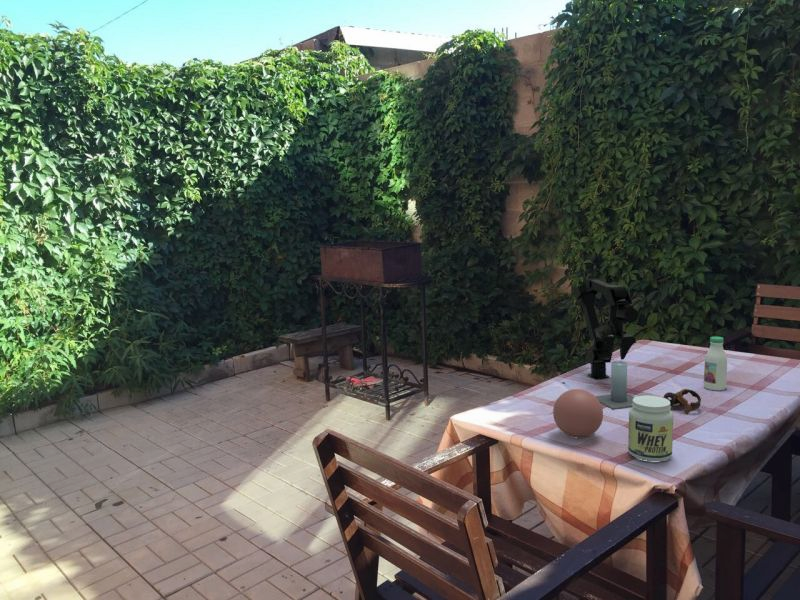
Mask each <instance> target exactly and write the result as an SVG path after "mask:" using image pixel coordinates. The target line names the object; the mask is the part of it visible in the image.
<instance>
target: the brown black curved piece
mask: <svg viewBox="0 0 800 600" xmlns="http://www.w3.org/2000/svg"><path fill="white" fill-rule="evenodd" d="M687 394H690V395H691V396H692V397H694V398H696V400H697V401H695V402H693V401H691V402H690V404H689V401H688V400H687V399H686V398H685V397H684V396H685V395H687ZM663 398H665V399H667V400H669V401H670V406H671V408H673V407H674V406H675V405H682V406H685V409H684V410H683V413H685V414H686V415H688V414H689V413H691V412H695V411H696V410H698V409H699V408H700V406H701V402H702V399H701V396H700V395H699V393H697V392H696V391H694V390H693V389H689V388H682V389H681V390H680V391H677V392H676V393H674V392H671V391H670V392H666V393H664V395H663ZM669 398H670V399H669Z"/></svg>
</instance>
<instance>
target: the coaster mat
mask: <svg viewBox="0 0 800 600" xmlns="http://www.w3.org/2000/svg"><path fill="white" fill-rule="evenodd" d="M594 396H595V395H594ZM595 397H596V398H597V399H598V400H599V402H600V404H601V403H602V404H601V405H603V406H605V407H606V408H609V409H610V408H611V410H620V409H627V408H632V407H633V406H632V403H633V398H635V397H636V396H633V395H631V394H629V393H627V401H626V402H614V401H611V393H609V394H601V395H596V396H595Z"/></svg>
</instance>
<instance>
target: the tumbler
mask: <svg viewBox="0 0 800 600" xmlns="http://www.w3.org/2000/svg"><path fill="white" fill-rule="evenodd" d="M610 364H611V365H610V394H611V401H614V402H626V401H627V394H628V393H627V392H628V362H626V361H622V360H616V361H611V362H610Z"/></svg>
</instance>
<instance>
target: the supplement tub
mask: <svg viewBox="0 0 800 600" xmlns="http://www.w3.org/2000/svg"><path fill="white" fill-rule="evenodd" d="M634 397H635V398H633V403H632V406H633V407H630V409H629V410H628V438H627V439H628V442H627V443H628V444H627V445H628V446H627V450H628V451H627V452H628V454H629V455H630V454H631V455H632V456H634V457H636V458H638V459H642V460H647V461H665V460H667V461H669V460H670V459H671V457H672V455H673V441H674V440H673V439H674V438H673V437H674V413H673V412H672V410H671V408H672V407H671V406H670V401H669V400H670V399H669V400H667V399H665V398H664V397H661V396H657V395H639V396H634ZM631 455H630V456H631ZM632 456H631V457H632ZM634 457H633V458H634ZM668 459H669V460H668ZM665 462H666V461H665Z"/></svg>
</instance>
